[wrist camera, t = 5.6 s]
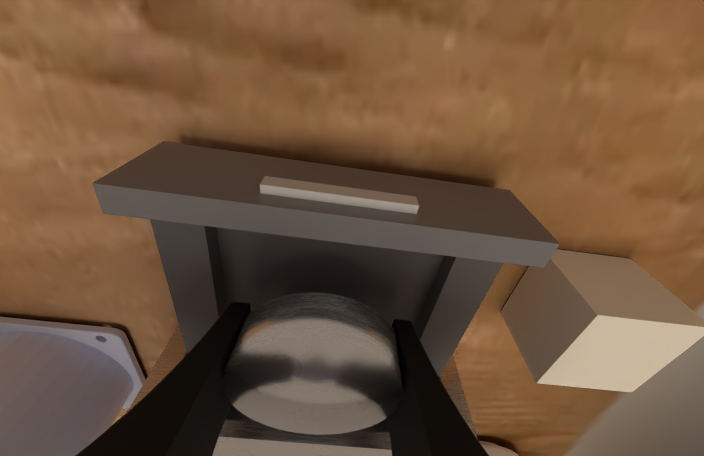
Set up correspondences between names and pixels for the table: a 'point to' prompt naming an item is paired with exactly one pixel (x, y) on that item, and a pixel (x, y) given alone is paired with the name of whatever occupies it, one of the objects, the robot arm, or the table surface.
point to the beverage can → (497, 449)
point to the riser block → (597, 322)
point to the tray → (322, 237)
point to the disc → (314, 365)
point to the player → (289, 447)
